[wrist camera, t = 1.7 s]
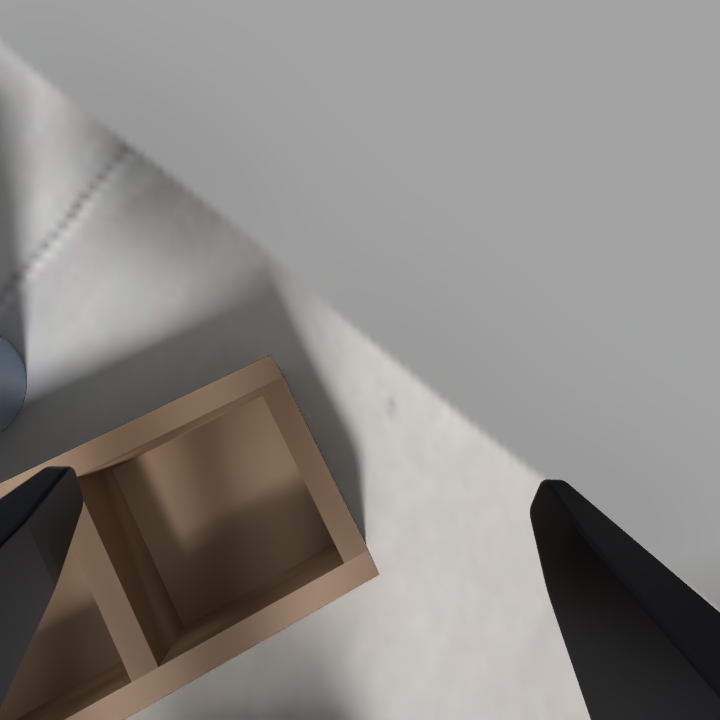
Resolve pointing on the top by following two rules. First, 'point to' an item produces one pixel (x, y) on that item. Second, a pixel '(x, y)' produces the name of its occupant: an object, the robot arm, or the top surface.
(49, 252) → the top surface
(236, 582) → the rack
